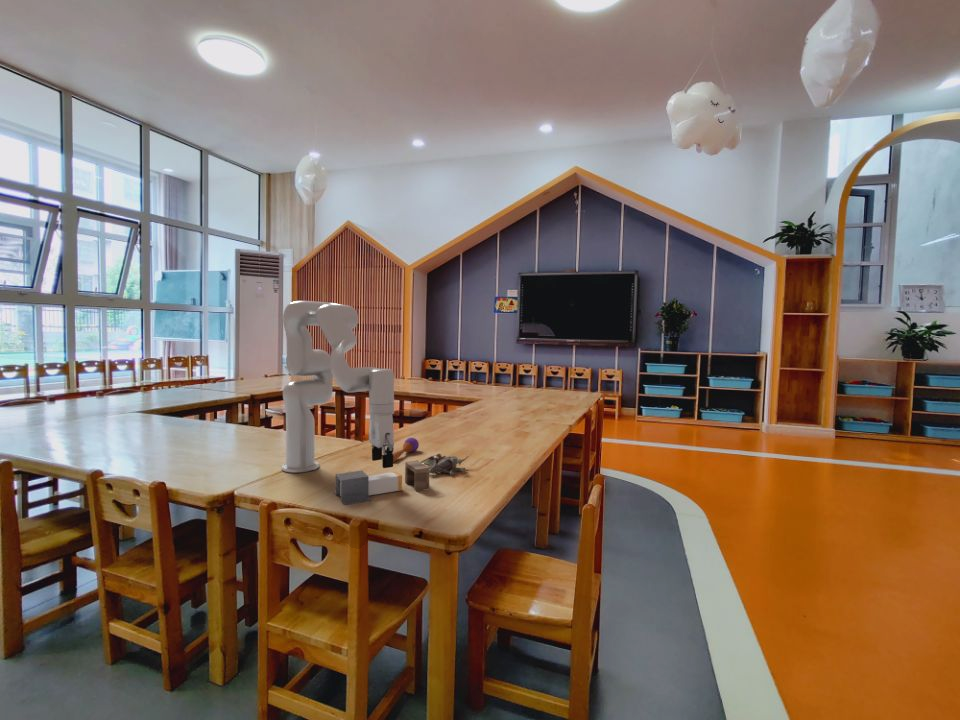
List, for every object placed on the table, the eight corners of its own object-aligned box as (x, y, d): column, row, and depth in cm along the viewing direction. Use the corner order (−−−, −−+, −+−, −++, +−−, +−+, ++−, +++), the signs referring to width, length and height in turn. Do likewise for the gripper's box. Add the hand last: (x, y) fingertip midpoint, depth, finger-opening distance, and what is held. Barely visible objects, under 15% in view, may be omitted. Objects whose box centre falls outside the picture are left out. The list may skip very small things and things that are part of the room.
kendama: (383, 451, 181) (406, 436, 200) (386, 466, 181) (409, 450, 200) (396, 450, 179) (419, 435, 198) (399, 465, 179) (422, 449, 198)
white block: (339, 495, 144) (340, 479, 143) (396, 486, 153) (396, 471, 153) (344, 500, 140) (344, 484, 139) (401, 490, 149) (402, 475, 149)
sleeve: (333, 492, 146) (333, 471, 146) (359, 488, 150) (359, 468, 150) (343, 505, 136) (343, 482, 136) (370, 500, 140) (371, 478, 140)
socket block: (405, 482, 157) (405, 462, 156) (417, 480, 159) (417, 460, 159) (416, 491, 149) (416, 469, 149) (429, 489, 151) (429, 467, 151)
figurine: (436, 467, 159) (403, 457, 170) (436, 484, 159) (404, 474, 170) (475, 452, 173) (443, 444, 185) (476, 468, 174) (443, 459, 185)
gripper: (361, 406, 151) (362, 459, 152) (379, 413, 137) (380, 472, 138) (383, 404, 155) (384, 456, 156) (403, 411, 141) (404, 468, 141)
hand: (382, 463), depth 147 cm, fingers open, 9 cm apart
